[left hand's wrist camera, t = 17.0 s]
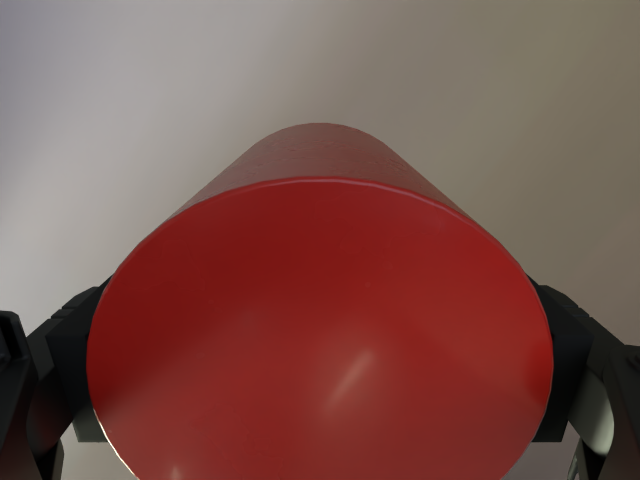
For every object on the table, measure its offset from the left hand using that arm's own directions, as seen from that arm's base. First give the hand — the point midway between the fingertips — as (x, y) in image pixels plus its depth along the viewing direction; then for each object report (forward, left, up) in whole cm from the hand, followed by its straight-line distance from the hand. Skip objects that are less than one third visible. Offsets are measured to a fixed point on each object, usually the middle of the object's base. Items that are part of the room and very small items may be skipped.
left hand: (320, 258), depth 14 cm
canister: (0, 0, -3) cm, 3 cm away
